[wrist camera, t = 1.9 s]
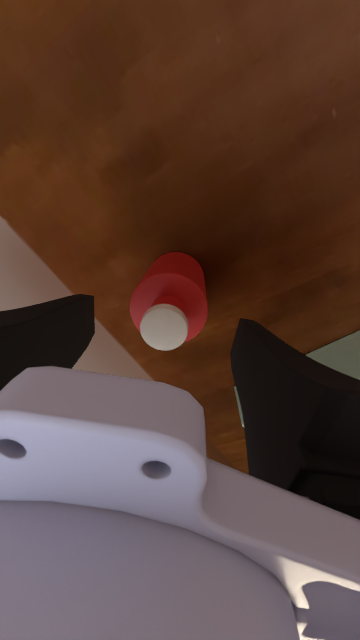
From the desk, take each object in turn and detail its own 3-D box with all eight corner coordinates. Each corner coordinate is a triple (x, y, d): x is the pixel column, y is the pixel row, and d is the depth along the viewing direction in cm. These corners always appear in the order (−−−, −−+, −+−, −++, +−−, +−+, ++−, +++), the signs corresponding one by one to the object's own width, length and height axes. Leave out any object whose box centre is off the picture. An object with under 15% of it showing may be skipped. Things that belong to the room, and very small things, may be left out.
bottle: (169, 315, 20) (154, 380, 13) (136, 272, 19) (98, 317, 11) (214, 288, 19) (227, 343, 12) (183, 239, 17) (175, 266, 10)
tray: (287, 460, 27) (303, 504, 23) (233, 386, 23) (241, 425, 19) (432, 412, 23) (482, 457, 19) (399, 311, 19) (454, 341, 15)
